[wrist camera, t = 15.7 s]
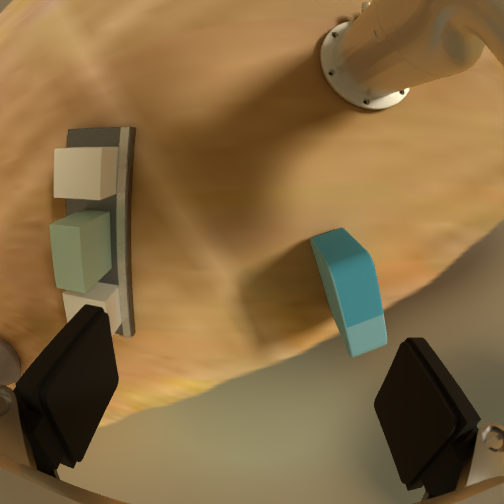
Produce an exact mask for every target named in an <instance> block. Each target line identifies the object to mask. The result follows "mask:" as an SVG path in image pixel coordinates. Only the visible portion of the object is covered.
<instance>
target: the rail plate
mask: <svg viewBox="0 0 504 504" xmlns="http://www.w3.org/2000/svg"><path fill="white" fill-rule="evenodd" d="M135 132H136V128H134V127H112V128H84V129H68V140H67V148H71V147H119V156H118V174H117V194H115V195H112V196H110V197H107V198H104V199H102V200H88V199H72V198H66V216H68V215H71V214H73V213H75V212H77V211H80V210H82V209H83V210H97V211H110V240H111V262H112V268H111V269H110V270H109V271H108V272H107V273H106V274H105V275H104V276H103V277H102V278H101V279H100V280H99V281H98V282H101V283H107V284H113V285H119V296H120V308H121V318H122V323H121V324H120V326H119V327H118V329H117V330H116V332H115V333H118V334H123V336H124V337H128V338H131V337H132V336H134V334H135V322H134V309H133V294H132V272H131V192H132V171H133V156H134V143H135Z"/></svg>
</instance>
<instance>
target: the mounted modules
mask: <svg viewBox="0 0 504 504" xmlns="http://www.w3.org/2000/svg"><path fill="white" fill-rule="evenodd" d="M118 156H119V147H71V148H57V149H55V152H54V198H72V199H88V200H102V199H104V198H107V197H110V196H112V195H115V194H117V174H118ZM62 295H63V301H64V307H65V312H66V317H67V322H69V321H70V320H71V319H72V318H73V316H74V315H75V314H76V313H77V312H78V311H79V310H80V309H81V308H82V307H83V306H84V305H85V304H89V305H94V306H99V307H102V308H103V309H104V312H105V313H108V315H109V320H110V328H111V335H112V336H113V335H114V333H115V332H116V330H117V329H118V327H119V326H120V324H121V323H122V318H121V308H120V296H119V285H113V284H107V283H101V282H97V283H96V284H95V285H94V286H93V287H92V288H91V289H89V290H88V291H87V292H86V293H81V292H75V291H70V290H65V291H64V292H63V293H62Z"/></svg>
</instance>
